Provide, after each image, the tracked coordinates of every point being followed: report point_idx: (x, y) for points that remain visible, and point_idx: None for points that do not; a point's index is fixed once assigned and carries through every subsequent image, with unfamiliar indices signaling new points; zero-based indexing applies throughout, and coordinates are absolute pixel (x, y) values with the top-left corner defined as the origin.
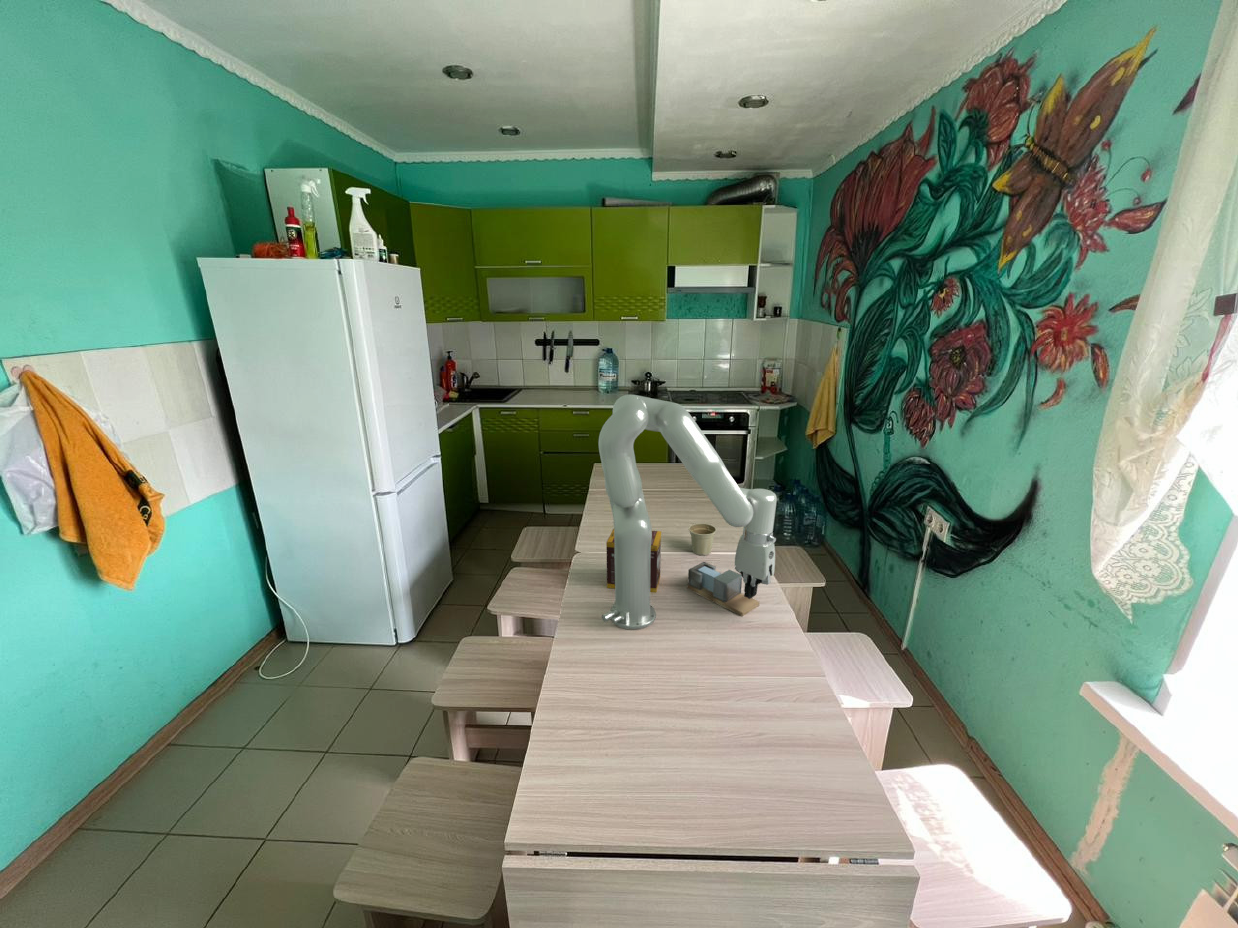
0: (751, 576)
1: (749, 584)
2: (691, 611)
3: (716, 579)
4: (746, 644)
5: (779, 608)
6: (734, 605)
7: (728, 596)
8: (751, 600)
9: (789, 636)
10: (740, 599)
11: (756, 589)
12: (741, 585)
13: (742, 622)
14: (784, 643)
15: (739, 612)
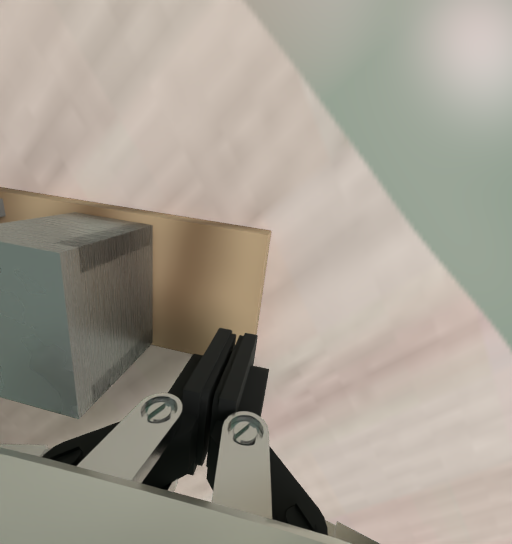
0: (160, 456)
1: (202, 452)
2: (103, 412)
3: (6, 396)
4: (345, 489)
5: (376, 187)
6: (192, 335)
7: (139, 339)
8: (228, 250)
9: (493, 385)
10: (183, 275)
11: (262, 401)
12: (123, 235)
13: (273, 389)
14: (481, 435)
15: None
